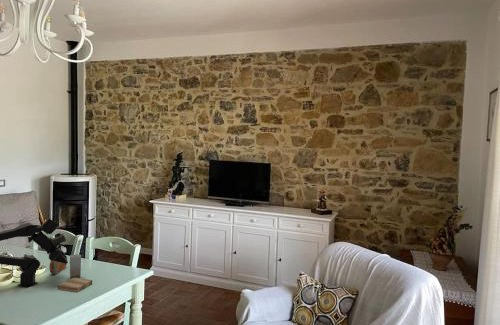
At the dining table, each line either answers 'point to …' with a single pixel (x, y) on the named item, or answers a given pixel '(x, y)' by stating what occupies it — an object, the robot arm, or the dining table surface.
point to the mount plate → (75, 284)
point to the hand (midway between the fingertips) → (66, 260)
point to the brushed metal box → (75, 266)
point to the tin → (57, 267)
